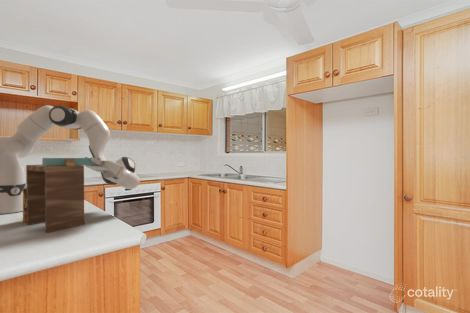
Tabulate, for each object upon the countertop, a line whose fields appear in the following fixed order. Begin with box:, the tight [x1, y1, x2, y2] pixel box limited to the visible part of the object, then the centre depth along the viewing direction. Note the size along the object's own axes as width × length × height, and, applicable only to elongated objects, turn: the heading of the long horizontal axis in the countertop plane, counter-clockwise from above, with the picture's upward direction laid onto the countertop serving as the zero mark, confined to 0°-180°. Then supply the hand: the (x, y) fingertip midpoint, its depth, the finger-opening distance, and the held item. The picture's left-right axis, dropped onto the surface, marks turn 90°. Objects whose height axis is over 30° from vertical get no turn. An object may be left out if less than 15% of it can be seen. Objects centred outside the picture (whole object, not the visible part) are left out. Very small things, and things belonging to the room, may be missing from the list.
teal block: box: [41, 157, 100, 166], centre depth 110 cm, size 3×22×3 cm, turn 148°
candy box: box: [22, 188, 27, 223], centre depth 115 cm, size 9×4×15 cm, turn 123°
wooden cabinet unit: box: [25, 159, 85, 233], centre depth 109 cm, size 20×14×29 cm
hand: (87, 158), depth 115 cm, fingers open, 4 cm apart
